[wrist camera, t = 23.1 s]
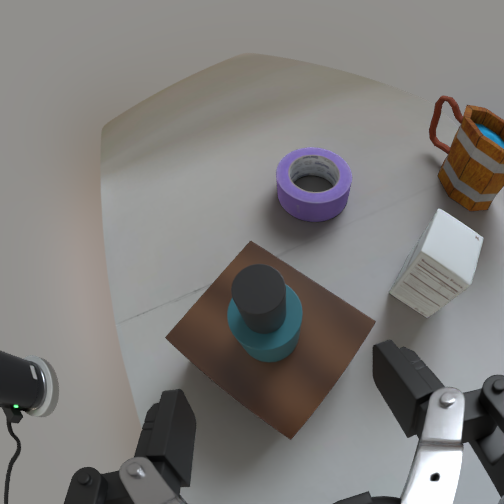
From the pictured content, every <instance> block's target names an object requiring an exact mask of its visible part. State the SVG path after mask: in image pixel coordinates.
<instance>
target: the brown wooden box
mask: <svg viewBox="0 0 504 504" xmlns="http://www.w3.org/2000/svg"><path fill="white" fill-rule="evenodd" d="M254 264H265V265H269V266H271V267H273V268H275V269H276V270H278V271H279V272H280V274H281V275H282V276H283V278H284V281H285V284H286V285H288V286H289V287H290V288H291V289H293V291H294V292H295V293H296V294H297V296H298V298H299V300H300V302H301V305H302V312H303V315H302V323H301V329H300V334H299V339H298V343H297V345H296V347H295V349H294V350H293V352H292V353H291V354H290V355H288V356H287V357H286V358H284V359H282V360H280V361H276V362H262V361H259V360H257V359H255V358H253V357H252V356H250V355H249V354H248V353H247V351H246V350H245V349H244V348H243V346H242V345H241V344H240V343H239V341H238V340H237V339H236V338H235V336H234V335H233V334H232V332H231V330H230V328H229V325H228V319H227V311H228V306H229V303H230V301H231V299H232V294H231V287H232V283H233V280H234V278H235V277H236V275H237V274H238V273H239V272H240V271H241V270H242V269H244V268H245V267H247V266H250V265H254ZM375 322H376V321H374V320H373V319H371V318H370V317H368V316H367V315H365V314H364V313H362V312H361V311H359V310H357V309H356V308H354V307H353V306H351V305H350V304H348V303H347V302H345V301H344V300H342V299H341V298H339V297H338V296H336V295H334V294H333V293H331V292H330V291H328V290H327V289H325V288H324V287H322V286H321V285H319V284H318V283H316V282H314V281H313V280H311V279H310V278H308V277H307V276H305V275H304V274H302V273H300V272H299V271H297V270H296V269H294V268H293V267H291V266H290V265H288V264H287V263H285V262H283V261H282V260H280V259H279V258H277V257H276V256H274V255H273V254H271V253H269V252H268V251H266V250H265V249H263V248H262V247H260V246H258V245H257V244H255V243H254V242H252V241H250V242H249V243H248V244H247V245H246V246H245V247H244V249H243V250H242V251H241V252H240V253H239V254H238V255H237V256H236V258H235V259H234V260H233V261H232V262H231V263H230V264H229V265H228V267H227V268H226V269H225V270H224V271H223V272H222V273H221V275H220V276H219V277H218V278H217V279H216V280H215V281H214V282H213V284H212V285H211V286H210V287H209V288H208V289H207V290H206V292H205V293H204V294H203V295H202V296H201V297H200V298H199V299H198V301H197V302H196V303H195V304H194V305H193V306H192V307H191V309H190V310H189V311H188V312H187V313H186V314H185V315H184V317H183V318H182V319H181V320H180V321H179V322H178V323H177V325H176V326H175V327H174V328H173V329H172V330H171V331H170V333H169V334H168V335H167V336H166V337H165V338H166V339H167V340H168V341H169V342H170V343H171V344H172V345H173V346H174V347H175V348H177V349H178V350H179V351H180V352H181V353H182V354H183V355H184V356H185V357H186V358H187V359H189V360H190V361H191V362H192V363H193V364H194V365H195V366H196V367H198V368H199V369H200V370H201V371H202V372H203V373H204V374H206V375H207V376H208V377H209V378H210V379H212V380H213V381H214V382H215V383H216V384H217V385H219V386H220V387H221V388H222V389H224V390H225V391H226V392H227V393H228V394H230V395H231V396H232V397H233V398H235V399H236V400H237V401H238V402H240V403H241V404H242V405H244V406H245V407H246V408H248V409H249V410H250V411H251V412H253V413H254V414H255V415H257V416H258V417H259V418H261V419H262V420H264V421H265V422H266V423H268V424H269V425H270V426H272V427H273V428H275V429H276V430H277V431H279V432H280V433H282V434H283V435H285V436H286V437H288V438H289V439H292V438H293V437H294V436H295V434H296V433H297V432H298V431H299V430H300V428H301V427H302V426H303V425H304V424H305V422H306V421H307V420H308V419H309V417H310V416H311V415H312V414H313V412H314V411H315V410H316V408H317V407H318V406H319V405H320V403H321V402H322V401H323V399H324V398H325V397H326V395H327V394H328V393H329V391H330V390H331V389H332V387H333V386H334V385H335V383H336V382H337V380H338V379H339V378H340V376H341V375H342V373H343V372H344V370H345V369H346V367H347V366H348V365H349V363H350V362H351V360H352V359H353V357H354V356H355V354H356V353H357V351H358V350H359V348H360V346H361V345H362V343H363V342H364V340H365V339H366V337H367V335H368V334H369V332H370V331H371V329H372V327H373V326H374V324H375Z"/></svg>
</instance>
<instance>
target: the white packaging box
mask: <svg viewBox="0 0 504 504" xmlns="http://www.w3.org/2000/svg"><path fill="white" fill-rule="evenodd" d="M482 243H483V237H481V236H480V235H479V234H478V233H476V232H475V231H473V230H472V229H470V228H469V227H468V226H466V225H465V224H463V223H462V222H460V221H459V220H457V219H456V218H454V217H453V216H451V215H449V214H448V213H446V212H445V211H443V210H441V209H439V208H438V210H437V212H436V213H435V215H434V217H433V218H432V220H431V222H430V223H429V225H428V226H427V228H426V230H425V231H424V233H423V234H422V236H421V237H420V239H419V240H418V242H417V243H416V245H415V246H414V248H413V249H412V251H411V252H410V254H409V255H408V257H407V259H406V262H405V264H404V266H403V268H402V270H401V272H400V274H399V276H398V277H397V279H396V281H395V283H394V285H393V287H392V288H391V290H390V292H389V293H390V294H391V295H393V296H394V297H396V298H397V299H399V300H400V301H402V302H403V303H405V304H406V305H408V306H409V307H411V308H412V309H414V310H416V311H417V312H419V313H420V314H422V315H423V316H425V317H426V318H428V317H430V316H431V315H433V314H434V313H435V312H437V311H438V310H439V309H441V308H442V307H443V306H445V305H446V304H447V303H449V302H450V301H451V300H453V299H454V298H455V297H456V296H458V295H459V294H460V293H462V292H463V291H464V290H465V289H466V288H468V287H469V286H470V285H471V283H472V280H473V276H474V273H475V269H476V266H477V263H478V259H479V255H480V251H481V247H482Z"/></svg>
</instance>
